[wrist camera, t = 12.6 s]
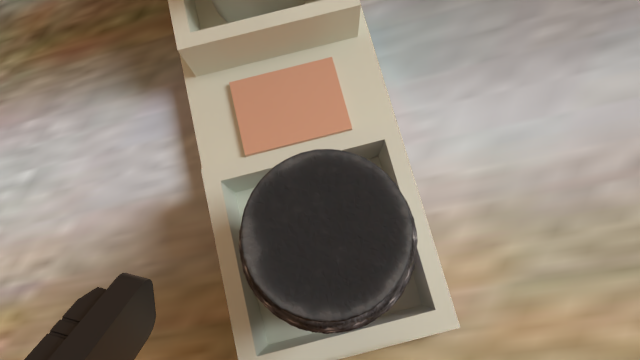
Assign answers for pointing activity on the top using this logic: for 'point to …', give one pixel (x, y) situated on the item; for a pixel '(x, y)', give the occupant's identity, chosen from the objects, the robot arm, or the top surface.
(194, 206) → the top surface
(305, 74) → the cream compartment organizer
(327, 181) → the pill bottle
